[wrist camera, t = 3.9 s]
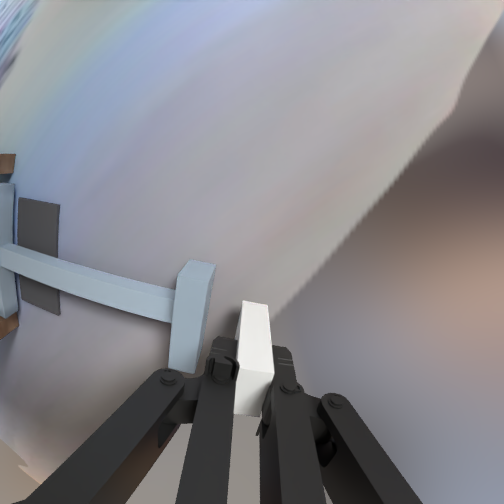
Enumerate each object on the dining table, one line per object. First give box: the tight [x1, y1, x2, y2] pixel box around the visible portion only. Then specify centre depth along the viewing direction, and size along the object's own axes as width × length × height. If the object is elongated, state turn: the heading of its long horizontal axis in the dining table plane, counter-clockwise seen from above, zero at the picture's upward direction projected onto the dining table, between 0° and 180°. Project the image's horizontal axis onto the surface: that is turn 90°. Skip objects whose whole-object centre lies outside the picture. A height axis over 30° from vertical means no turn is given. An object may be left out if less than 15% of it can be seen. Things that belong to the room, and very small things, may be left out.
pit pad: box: [17, 198, 60, 315], centre depth 18 cm, size 9×5×1 cm, turn 168°
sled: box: [0, 182, 216, 374], centre depth 15 cm, size 11×31×3 cm, turn 78°
